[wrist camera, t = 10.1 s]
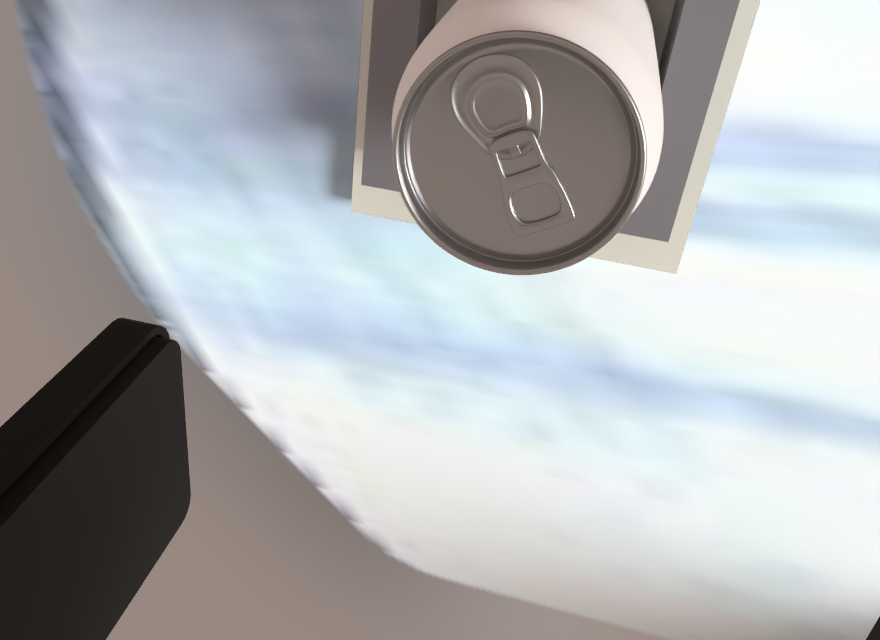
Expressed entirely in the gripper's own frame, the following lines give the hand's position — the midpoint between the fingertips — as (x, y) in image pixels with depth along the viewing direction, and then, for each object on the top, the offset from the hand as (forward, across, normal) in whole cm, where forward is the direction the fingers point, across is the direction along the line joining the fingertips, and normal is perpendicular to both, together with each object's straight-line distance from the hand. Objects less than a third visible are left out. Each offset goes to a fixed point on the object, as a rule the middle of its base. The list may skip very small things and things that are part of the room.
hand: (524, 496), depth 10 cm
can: (+22, +2, -1) cm, 22 cm away
